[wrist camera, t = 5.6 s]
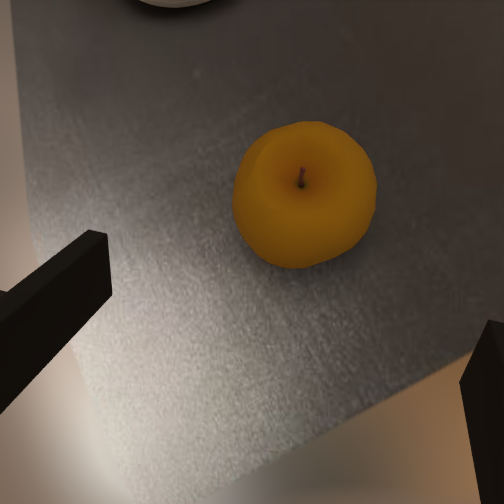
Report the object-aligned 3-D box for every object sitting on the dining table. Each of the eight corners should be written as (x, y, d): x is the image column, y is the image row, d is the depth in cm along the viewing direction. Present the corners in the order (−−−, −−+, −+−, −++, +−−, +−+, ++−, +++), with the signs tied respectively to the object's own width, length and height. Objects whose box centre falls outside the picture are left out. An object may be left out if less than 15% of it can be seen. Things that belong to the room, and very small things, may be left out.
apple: (301, 308, 30) (291, 287, 22) (222, 221, 32) (184, 171, 24) (395, 223, 30) (421, 169, 22) (309, 143, 33) (302, 67, 24)
